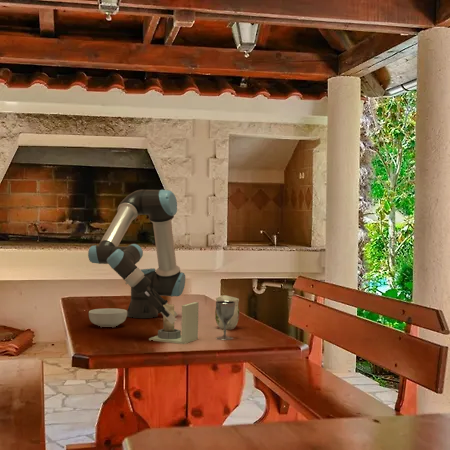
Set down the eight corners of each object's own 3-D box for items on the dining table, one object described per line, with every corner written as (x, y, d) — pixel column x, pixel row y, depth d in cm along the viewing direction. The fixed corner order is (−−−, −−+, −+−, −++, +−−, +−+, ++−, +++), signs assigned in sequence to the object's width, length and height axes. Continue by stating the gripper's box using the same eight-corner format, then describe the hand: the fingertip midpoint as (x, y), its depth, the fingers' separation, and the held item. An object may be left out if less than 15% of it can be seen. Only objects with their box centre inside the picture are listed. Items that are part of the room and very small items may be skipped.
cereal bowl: (112, 322, 320) (112, 306, 320) (134, 326, 308) (134, 311, 308) (81, 325, 308) (81, 310, 308) (102, 331, 296) (102, 314, 296)
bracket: (148, 340, 277) (149, 302, 277) (162, 335, 288) (163, 299, 288) (184, 344, 271) (185, 305, 271) (197, 339, 282) (198, 302, 282)
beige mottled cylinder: (161, 337, 279) (161, 305, 279) (166, 335, 283) (166, 304, 283) (171, 338, 277) (171, 305, 277) (176, 336, 282) (176, 304, 281)
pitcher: (218, 332, 299) (219, 300, 298) (211, 325, 316) (212, 295, 316) (243, 332, 300) (244, 300, 300) (235, 325, 318) (236, 295, 318)
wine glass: (214, 336, 289) (215, 300, 288) (233, 336, 289) (234, 300, 289) (215, 340, 281) (216, 303, 280) (235, 340, 281) (236, 303, 281)
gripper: (134, 284, 292) (169, 320, 293) (128, 291, 267) (166, 330, 268) (147, 272, 292) (182, 308, 293) (142, 278, 267) (180, 317, 268)
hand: (175, 319), depth 280 cm, fingers open, 13 cm apart
